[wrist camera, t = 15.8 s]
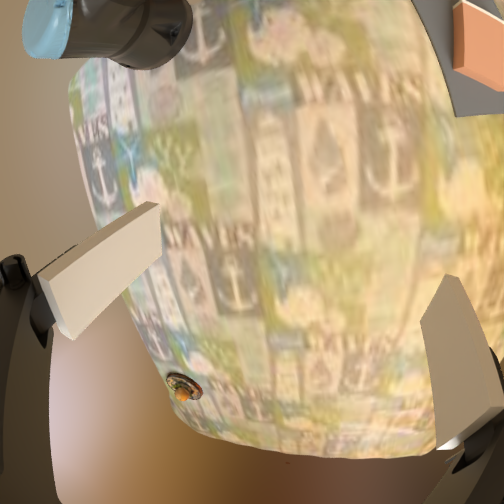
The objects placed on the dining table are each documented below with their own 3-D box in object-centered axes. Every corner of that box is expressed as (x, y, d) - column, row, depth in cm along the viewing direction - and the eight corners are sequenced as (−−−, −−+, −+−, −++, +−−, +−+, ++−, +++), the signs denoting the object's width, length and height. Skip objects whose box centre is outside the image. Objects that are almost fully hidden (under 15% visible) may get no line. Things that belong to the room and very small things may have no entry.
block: (511, 91, 18) (509, 24, 12) (464, 66, 19) (462, -2, 14) (497, 91, 21) (497, 29, 15) (452, 69, 23) (452, 6, 17)
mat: (404, -11, 19) (405, -13, 18) (487, -6, 12) (489, -7, 12) (455, 117, 26) (456, 117, 26) (530, 112, 20) (532, 112, 19)
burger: (162, 371, 77) (150, 388, 71) (190, 372, 72) (178, 392, 66) (182, 394, 81) (172, 411, 75) (210, 397, 76) (201, 416, 70)
